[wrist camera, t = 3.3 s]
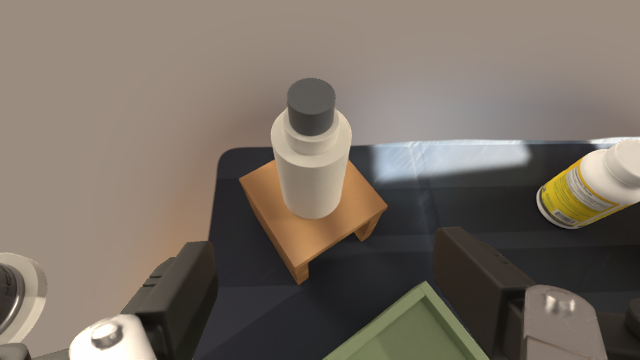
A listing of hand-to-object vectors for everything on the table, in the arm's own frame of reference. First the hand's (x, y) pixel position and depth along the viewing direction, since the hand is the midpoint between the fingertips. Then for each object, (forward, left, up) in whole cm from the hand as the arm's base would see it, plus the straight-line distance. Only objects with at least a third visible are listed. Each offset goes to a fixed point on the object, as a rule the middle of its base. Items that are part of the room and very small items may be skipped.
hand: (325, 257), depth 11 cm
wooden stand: (+5, +8, -24) cm, 25 cm away
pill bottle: (+32, -7, -24) cm, 40 cm away
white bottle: (+5, +8, -15) cm, 18 cm away
